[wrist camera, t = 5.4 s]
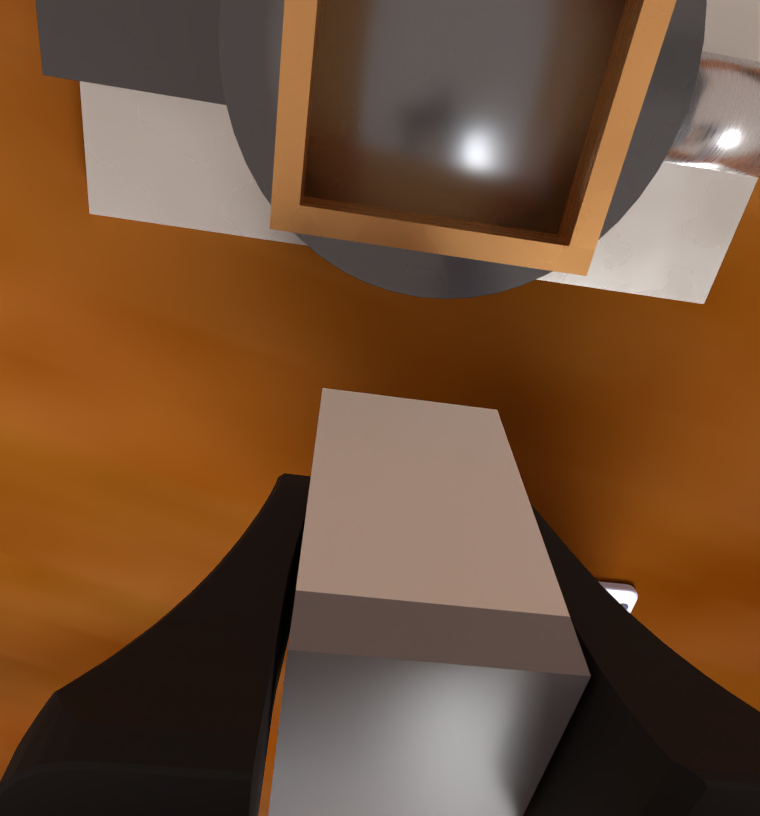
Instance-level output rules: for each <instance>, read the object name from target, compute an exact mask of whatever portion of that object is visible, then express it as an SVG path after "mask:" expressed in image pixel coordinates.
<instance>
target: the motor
mask: <svg viewBox="0 0 760 816" xmlns="http://www.w3.org/2000/svg"><path fill="white" fill-rule="evenodd" d="M36 10H37V20H38V30H39V40H40V50H41V60H42V70H43V75H46V76H52V77H58V78H64V79H71V80H77V81H80V92H81V106H82V119H83V132H84V146H85V159H86V173H87V186H88V200H89V213H90V214H95V215H102V216H109V217H116V218H123V219H129V220H136V221H143V222H150V223H157V224H163V225H170V226H177V227H184V228H191V229H197V230H204V231H211V232H218V233H225V234H231V235H238V236H245V237H252V238H259V239H265V240H272V241H279V242H286V243H293V244H299V245H306V246H309V247H310V248H311V249H312V250H313V251H315V252H316V253H317V254H318V255H319V256H321V257H322V258H324V259H325V260H327V261H328V262H330V263H331V264H333V265H334V266H336V267H337V268H339V269H340V270H342V271H343V272H346V273H348V274H350V275H352V276H354V277H356V278H358V279H360V280H362V281H364V282H366V283H368V284H371V285H374V286H377V287H380V288H383V289H386V290H389V291H392V292H396V293H401V294H406V295H411V296H416V297H426V298H438V299H452V298H471V297H477V296H482V295H488V294H494V293H498V292H502V291H505V290H508V289H512V288H515V287H518V286H522V285H524V284H526V283H529V282H531V281H533V280H536V279H537V280H544V281H551V282H558V283H564V284H571V285H578V286H585V287H591V288H598V289H605V290H612V291H619V292H625V293H632V294H639V295H646V296H653V297H659V298H666V299H673V300H680V301H687V302H693V303H700V304H704V302H705V300H706V298H707V296H708V293H709V291H710V289H711V286H712V284H713V282H714V279H715V277H716V275H717V272H718V270H719V268H720V265H721V263H722V261H723V258H724V256H725V254H726V252H727V249H728V247H729V245H730V242H731V240H732V238H733V235H734V233H735V231H736V228H737V226H738V224H739V221H740V219H741V217H742V214H743V212H744V210H745V208H746V205H747V203H748V201H749V198H750V196H751V194H752V191H753V189H754V187H755V184H756V182H757V180H758V178H760V0H36Z"/></svg>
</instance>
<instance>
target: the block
mask: <svg viewBox="0 0 760 816" xmlns="http://www.w3.org/2000/svg"><path fill="white" fill-rule="evenodd" d="M590 677H591V675H590V672H589V669H588V667H587V664H586V661H585V658H584V655H583V652H582V649H581V647H580V644H579V641H578V638H577V635H576V632H575V630H574V627H573V624H572V621H571V618H570V615H569V613H568V610H567V607H566V604H565V601H564V598H563V595H562V593H561V590H560V587H559V584H558V581H557V578H556V576H555V573H554V570H553V567H552V564H551V561H550V559H549V556H548V553H547V550H546V547H545V544H544V542H543V539H542V536H541V533H540V530H539V527H538V524H537V522H536V519H535V516H534V513H533V510H532V507H531V505H530V502H529V499H528V496H527V493H526V490H525V488H524V485H523V482H522V479H521V476H520V473H519V470H518V468H517V465H516V462H515V459H514V456H513V453H512V451H511V448H510V445H509V442H508V439H507V436H506V434H505V431H504V428H503V425H502V422H501V419H500V417H499V414H498V411H497V410H495V409H487V408H479V407H471V406H463V405H455V404H447V403H439V402H431V401H423V400H415V399H407V398H399V397H391V396H383V395H376V394H368V393H360V392H352V391H344V390H336V389H328V388H323V389H322V396H321V404H320V411H319V419H318V426H317V434H316V441H315V449H314V456H313V464H312V472H311V479H310V487H309V494H308V502H307V509H306V517H305V524H304V532H303V539H302V547H301V554H300V562H299V569H298V577H297V584H296V592H295V599H294V607H293V615H292V622H291V630H290V637H289V645H288V653H287V661H286V670H285V678H284V687H283V695H282V704H281V712H280V721H279V729H278V738H277V746H276V755H275V763H274V772H273V780H272V789H271V797H270V806H269V814H268V816H523V814H524V812H525V810H526V808H527V806H528V804H529V802H530V800H531V798H532V796H533V794H534V792H535V790H536V788H537V786H538V784H539V782H540V780H541V778H542V776H543V773H544V771H545V769H546V767H547V765H548V763H549V761H550V759H551V757H552V755H553V753H554V751H555V749H556V747H557V745H558V743H559V741H560V739H561V737H562V735H563V733H564V730H565V728H566V726H567V724H568V722H569V720H570V718H571V716H572V714H573V712H574V710H575V708H576V706H577V704H578V702H579V700H580V698H581V696H582V694H583V692H584V690H585V688H586V685H587V683H588V681H589V679H590Z"/></svg>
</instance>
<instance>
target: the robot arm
mask: <svg viewBox="0 0 760 816" xmlns="http://www.w3.org/2000/svg"><path fill="white" fill-rule="evenodd" d="M310 479H311V476H302V475H293V474H283V475H281V476H280V477H278V479H277V482H276V484H275V486H274V488H273V490H272V492H271V494H270V496H269V497H268V499H267V501H266V502H265V504H264V505H263V507H262V508H261V510H260V512H259V513H258V515H257V516H256V517H255V519H254V520H253V521H252V523H251V524H250V526H249V527H248V528H247V530H246V531H245V533H244V534H243V535H242V537H241V538H240V539H239V540H238V542H237V543H236V544H235V545H234V546H233V548H232V549H231V550H230V551H229V552H228V554H227V555H226V556H225V557H224V558H223V559H222V561H221V562H220V563H219V564H218V565H217V566H216V567H215V568H214V570H213V571H212V572H211V573H210V574H209V575H208V576H207V577H206V578H205V579H204V580H203V581H202V582H201V583H200V584H199V585H198V586H197V587H196V588H195V589H194V590H193V591H192V592H191V593H190V594H189V595H188V596H187V597H186V598H184V599H183V600H182V601H181V602H180V603H179V604H178V605H177V606H175V607H174V608H173V609H172V610H171V611H170V612H169V613H168V614H166V615H165V616H164V617H163V618H162V619H160V620H159V621H158V622H157V623H156V624H154V625H153V626H152V627H151V628H149V629H148V630H147V631H145V632H144V633H143V634H141V635H140V636H139V637H137V638H136V639H135V640H133V641H132V642H130V643H129V644H128V645H126V646H125V647H124V648H122V649H121V650H120V651H118V652H117V653H116V654H114V655H113V656H111V657H110V658H108V659H107V660H105V661H104V662H102V663H101V664H99V665H98V666H96V667H94V668H93V669H91V670H90V671H88V672H86V673H85V674H83V675H82V676H80V677H78V678H77V679H75V680H74V681H72V682H70V683H69V684H67V685H66V686H64V687H62V688H61V689H59V690H57V691H56V692H54V693H53V695H52V696H51V697H50V699H49V700H48V701H47V703H46V704H45V706H44V707H43V708H42V710H41V711H40V712H39V714H38V715H37V717H36V718H35V720H34V721H33V723H32V724H31V726H30V728H29V729H28V731H27V732H26V734H25V735H24V737H23V738H22V740H21V742H20V743H19V745H18V747H17V748H16V750H15V752H14V754H13V756H12V759H11V761H10V763H9V765H8V767H7V769H6V771H5V773H4V775H3V777H2V779H1V781H0V816H258V812H259V805H260V798H261V790H262V783H263V776H264V769H265V761H266V754H267V747H268V740H269V733H270V725H271V718H272V711H273V706H274V700H275V695H276V690H277V685H278V681H279V677H280V672H281V668H282V664H283V659H284V655H285V651H286V647H287V642H288V638H289V634H290V629H291V622H292V615H293V607H294V599H295V592H296V584H297V577H298V569H299V562H300V554H301V547H302V539H303V532H304V524H305V517H306V509H307V502H308V494H309V487H310ZM530 505H531V504H530ZM531 507H532V510H533V513H534V516H535V519H536V522H537V524H538V527H539V530H540V533H541V536H542V539H543V542H544V544H545V547H546V550H547V553H548V556H549V559H550V561H551V564H552V567H553V570H554V573H555V576H556V578H557V581H558V584H559V587H560V590H561V593H562V595H563V598H564V601H565V604H566V607H567V610H568V613H569V615H570V618H571V621H572V624H573V627H574V630H575V632H576V635H577V638H578V641H579V644H580V647H581V649H582V652H583V655H584V658H585V661H586V664H587V667H588V669H589V672H590V675H591V677H590V679H589V681H588V683H587V685H586V688H585V690H584V692H583V694H582V696H581V698H580V700H579V702H578V704H577V706H576V708H575V710H574V712H573V714H572V716H571V718H570V720H569V722H568V724H567V726H566V728H565V730H564V733H563V735H562V737H561V739H560V741H559V743H558V745H557V747H556V749H555V751H554V753H553V755H552V757H551V759H550V761H549V763H548V765H547V767H546V769H545V771H544V773H543V776H542V778H541V780H540V782H539V784H538V786H537V788H536V790H535V792H534V794H533V796H532V798H531V800H530V802H529V804H528V806H527V808H526V810H525V812H524V814H523V816H760V712H759V711H757V710H756V709H754V708H753V707H751V706H750V705H748V704H747V703H745V702H744V701H742V700H741V699H739V698H738V697H736V696H735V695H733V694H732V693H730V692H729V691H727V690H726V689H724V688H723V687H721V686H720V685H719V684H717V683H716V682H714V681H713V680H711V679H710V678H709V677H707V676H706V675H704V674H703V673H702V672H701V671H699V670H698V669H697V668H695V667H694V666H693V665H691V664H690V663H689V662H687V661H686V660H685V659H683V658H682V657H681V656H679V655H678V654H677V653H676V652H674V651H673V650H672V649H671V648H669V647H668V646H667V645H666V644H664V643H663V642H662V641H661V640H660V639H658V638H657V637H656V636H655V635H654V634H653V633H652V632H651V631H649V630H648V629H647V628H646V627H645V626H644V625H643V624H641V623H640V622H639V621H638V620H637V619H636V618H635V617H633V616H632V615H631V614H630V613H631V611H632V609H633V607H634V605H635V603H636V601H637V598H638V595H637V593H636V591H635V588H634V587H633V586H631V585H628V584H618V583H609V582H599V581H597V580H596V579H595V578H594V577H593V575H592V574H591V573H590V572H589V571H588V570H587V569H586V568H585V567H584V566H583V565H582V563H581V562H580V561H579V560H578V559H577V558H576V557H575V556H574V554H573V553H572V552H571V551H570V550H569V549H568V547H567V546H566V545H565V544H564V543H563V542H562V540H561V539H560V538H559V537H558V536H557V534H556V533H555V532H554V531H553V530H552V529H551V527H550V526H549V525H548V524H547V523H546V521H545V520H544V519H543V518H542V517H541V515H540V514H539V513H538V512H537V511H536V510H535V508H534V507H533V506H532V505H531ZM621 603H624V604H623V605H621Z"/></svg>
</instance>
